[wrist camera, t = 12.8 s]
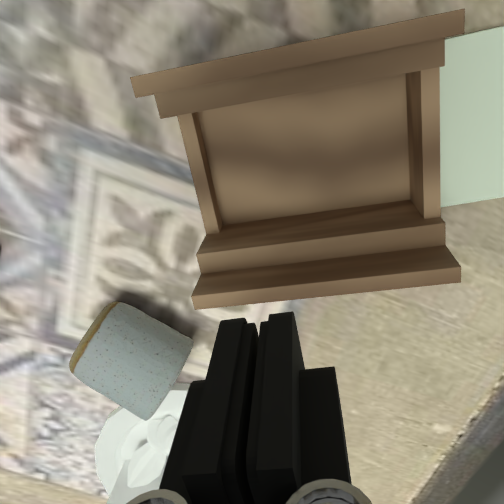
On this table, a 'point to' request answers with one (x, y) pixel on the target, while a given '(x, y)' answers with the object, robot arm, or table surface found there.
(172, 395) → the dish
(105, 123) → the table surface
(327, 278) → the walnut box
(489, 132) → the lid
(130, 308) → the ceramic mug
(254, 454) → the robot arm
